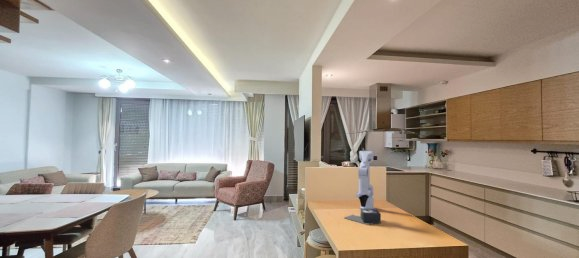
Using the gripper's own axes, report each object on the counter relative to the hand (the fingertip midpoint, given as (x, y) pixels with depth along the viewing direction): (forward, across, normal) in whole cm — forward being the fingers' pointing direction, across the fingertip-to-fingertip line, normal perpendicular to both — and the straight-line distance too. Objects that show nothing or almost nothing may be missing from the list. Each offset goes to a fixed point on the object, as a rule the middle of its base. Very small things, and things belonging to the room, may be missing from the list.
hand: (363, 206), depth 166 cm
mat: (+8, -4, 0) cm, 9 cm away
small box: (+4, +3, -2) cm, 6 cm away
